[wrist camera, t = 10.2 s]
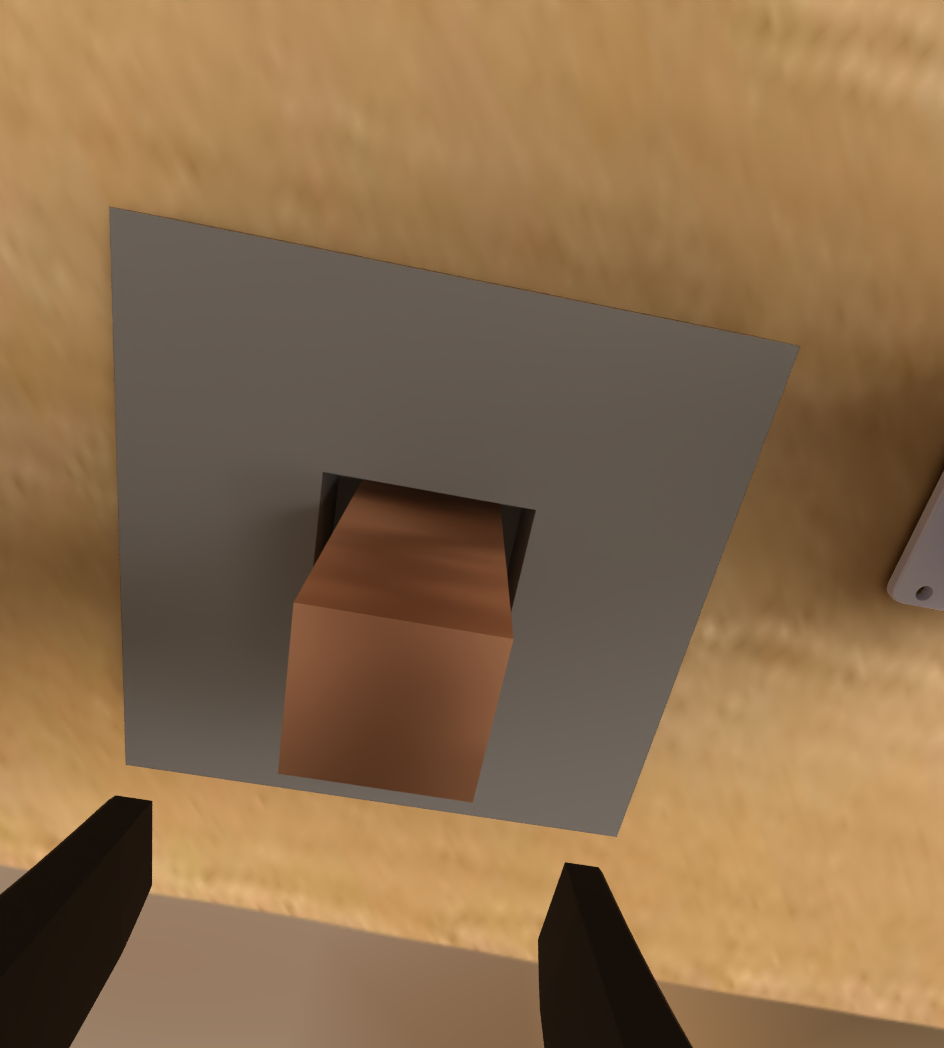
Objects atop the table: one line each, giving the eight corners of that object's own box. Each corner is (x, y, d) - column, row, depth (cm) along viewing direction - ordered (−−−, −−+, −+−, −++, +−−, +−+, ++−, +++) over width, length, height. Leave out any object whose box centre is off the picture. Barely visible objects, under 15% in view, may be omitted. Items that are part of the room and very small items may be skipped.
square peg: (499, 494, 19) (513, 639, 11) (474, 608, 20) (472, 802, 13) (367, 470, 18) (293, 602, 11) (352, 587, 20) (277, 773, 12)
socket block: (748, 334, 17) (800, 346, 15) (599, 769, 23) (616, 836, 20) (172, 218, 16) (109, 206, 14) (169, 703, 22) (125, 764, 19)
